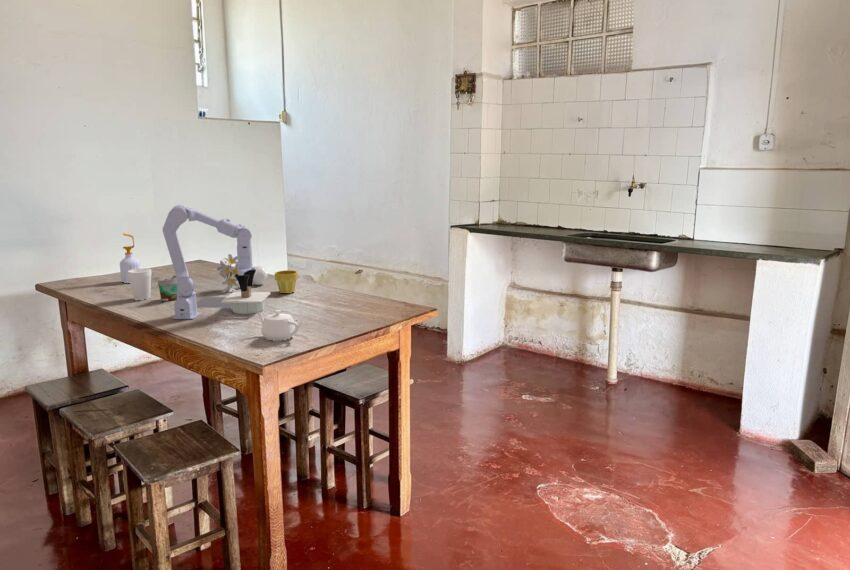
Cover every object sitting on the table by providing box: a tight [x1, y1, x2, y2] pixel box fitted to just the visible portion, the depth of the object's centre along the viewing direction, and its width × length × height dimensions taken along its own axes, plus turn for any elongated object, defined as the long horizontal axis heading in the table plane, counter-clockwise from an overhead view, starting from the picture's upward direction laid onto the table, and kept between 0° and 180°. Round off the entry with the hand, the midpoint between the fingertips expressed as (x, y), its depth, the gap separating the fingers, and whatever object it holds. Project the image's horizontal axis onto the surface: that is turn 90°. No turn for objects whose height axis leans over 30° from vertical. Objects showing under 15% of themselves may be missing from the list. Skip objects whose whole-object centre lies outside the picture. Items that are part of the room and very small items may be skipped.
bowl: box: [230, 299, 266, 315], centre depth 257 cm, size 13×13×6 cm
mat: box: [196, 296, 231, 309], centre depth 270 cm, size 18×18×1 cm
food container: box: [157, 274, 178, 303], centre depth 274 cm, size 12×6×10 cm, turn 168°
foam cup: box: [128, 268, 153, 301], centre depth 276 cm, size 10×9×13 cm
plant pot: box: [274, 269, 298, 294], centre depth 289 cm, size 10×10×10 cm
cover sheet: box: [221, 286, 271, 303], centre depth 256 cm, size 16×16×5 cm
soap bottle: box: [119, 232, 141, 284], centre depth 309 cm, size 9×9×25 cm
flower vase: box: [216, 253, 269, 293], centre depth 297 cm, size 13×18×25 cm
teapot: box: [257, 309, 300, 341], centre depth 221 cm, size 20×12×10 cm, turn 58°
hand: (246, 289), depth 256 cm, fingers open, 7 cm apart
